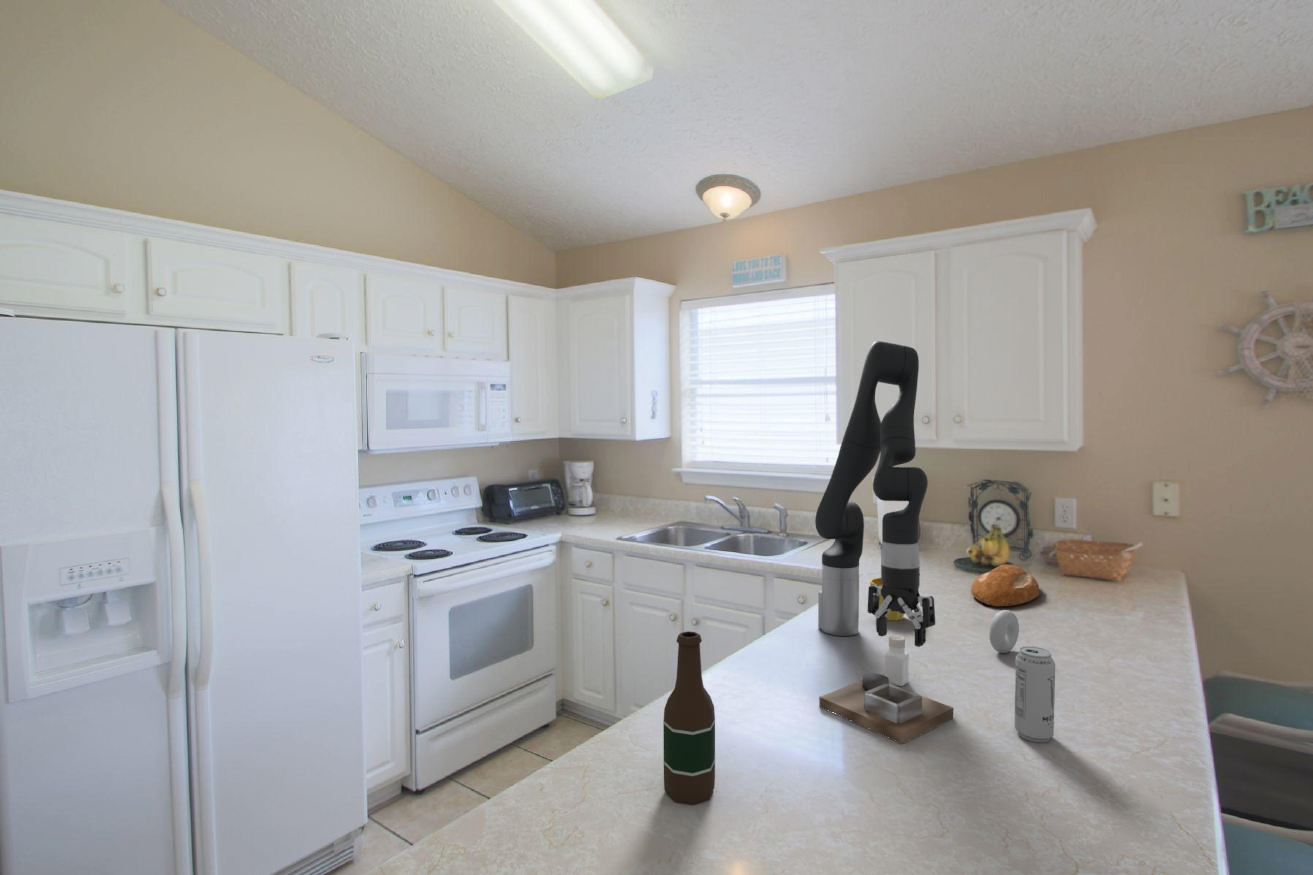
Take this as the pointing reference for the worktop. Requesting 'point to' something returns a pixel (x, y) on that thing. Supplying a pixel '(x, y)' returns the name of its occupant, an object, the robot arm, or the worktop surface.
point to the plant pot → (891, 614)
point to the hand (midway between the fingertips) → (900, 640)
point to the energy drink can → (1034, 694)
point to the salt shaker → (897, 661)
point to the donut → (1004, 631)
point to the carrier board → (886, 708)
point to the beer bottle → (689, 729)
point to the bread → (1005, 586)
